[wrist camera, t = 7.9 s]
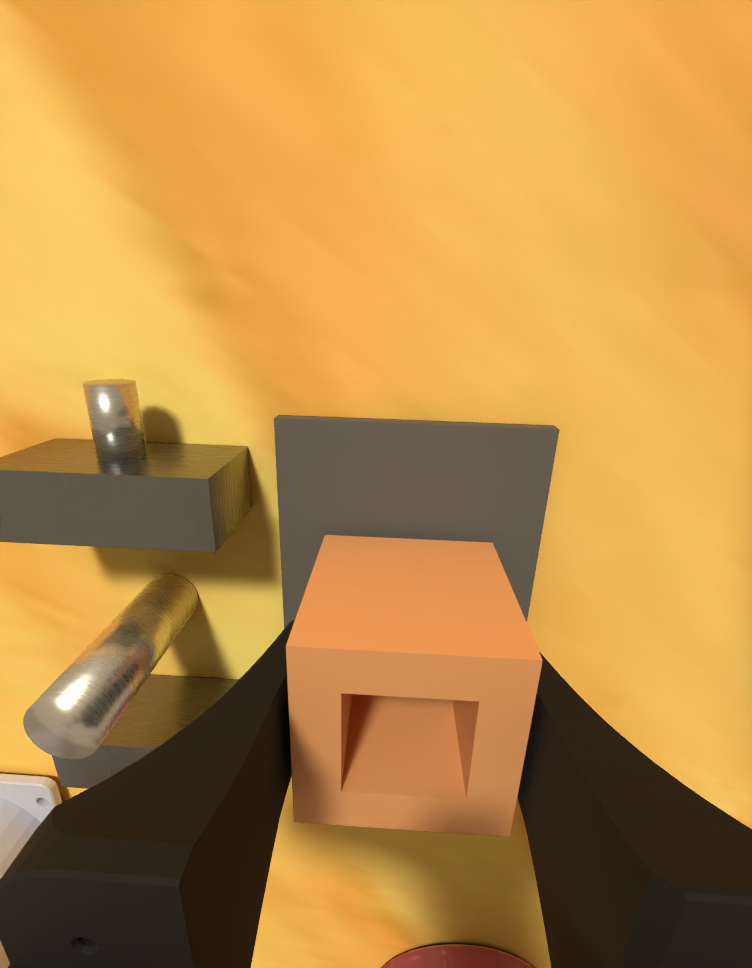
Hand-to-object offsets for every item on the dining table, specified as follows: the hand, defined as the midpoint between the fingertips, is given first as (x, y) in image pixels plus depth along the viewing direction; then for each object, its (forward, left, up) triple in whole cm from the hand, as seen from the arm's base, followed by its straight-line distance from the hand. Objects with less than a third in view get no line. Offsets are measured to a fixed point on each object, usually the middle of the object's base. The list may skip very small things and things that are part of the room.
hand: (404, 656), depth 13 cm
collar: (0, 0, -2) cm, 2 cm away
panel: (0, 0, -3) cm, 3 cm away
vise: (0, +8, -3) cm, 9 cm away
